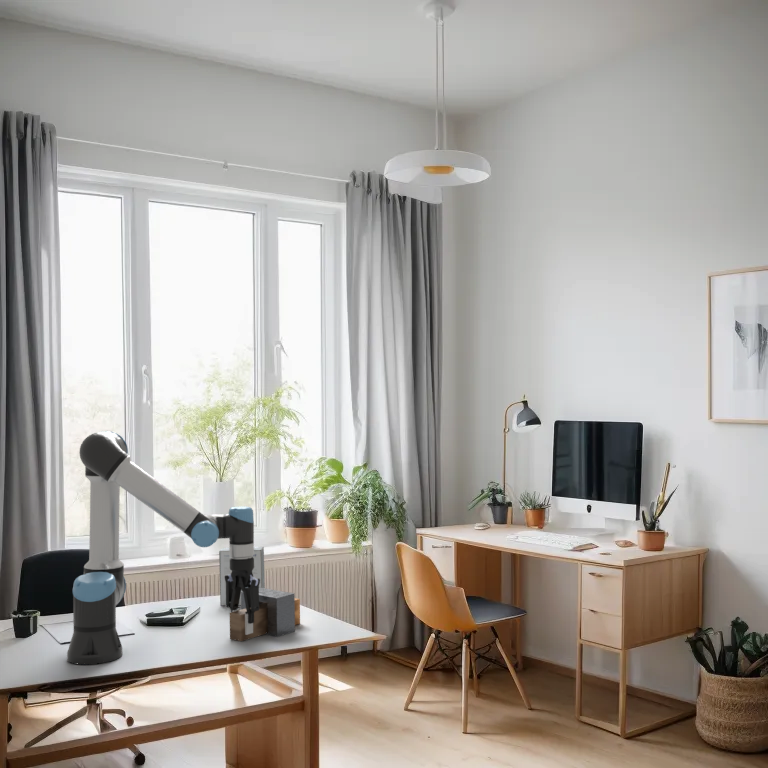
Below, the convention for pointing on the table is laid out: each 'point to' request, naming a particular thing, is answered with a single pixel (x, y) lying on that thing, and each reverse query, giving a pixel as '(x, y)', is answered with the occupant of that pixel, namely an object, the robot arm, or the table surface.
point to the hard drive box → (225, 570)
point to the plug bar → (255, 622)
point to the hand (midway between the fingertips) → (242, 632)
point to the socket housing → (277, 610)
